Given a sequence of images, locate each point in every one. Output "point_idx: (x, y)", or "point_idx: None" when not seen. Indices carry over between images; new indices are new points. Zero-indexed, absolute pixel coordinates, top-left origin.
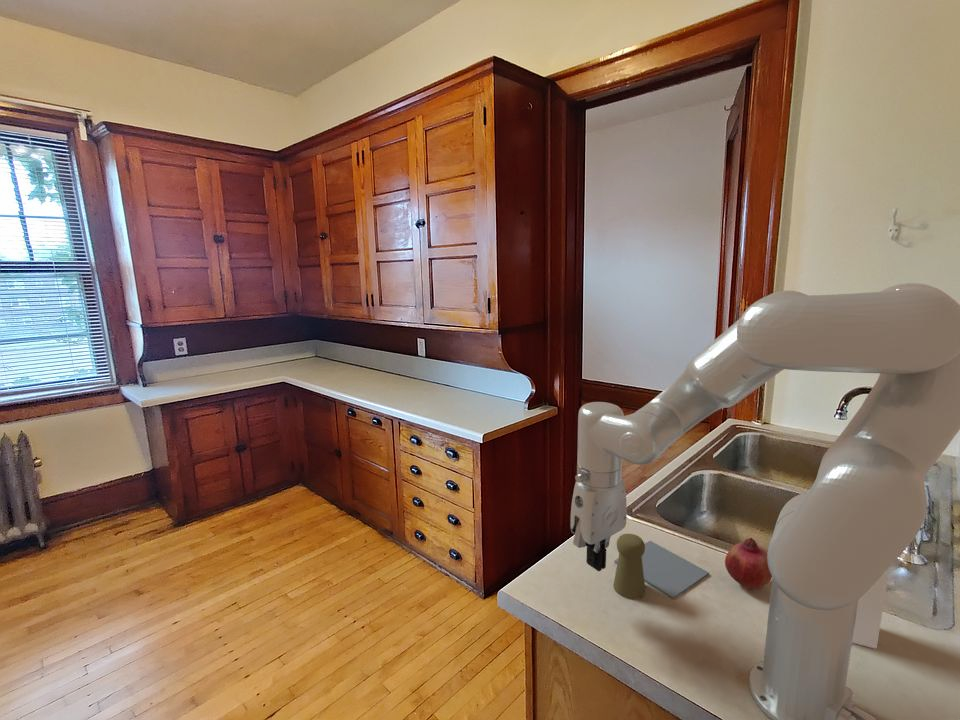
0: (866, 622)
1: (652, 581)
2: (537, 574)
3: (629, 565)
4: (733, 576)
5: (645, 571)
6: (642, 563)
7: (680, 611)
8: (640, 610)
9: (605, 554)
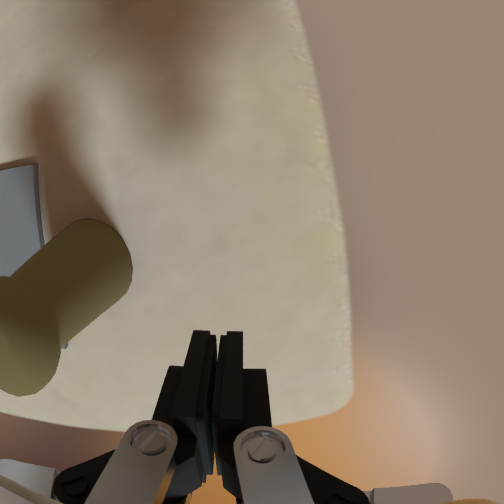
0: None
1: (32, 239)
2: None
3: (59, 288)
4: None
5: None
6: None
7: (55, 122)
8: (129, 183)
9: (185, 387)
